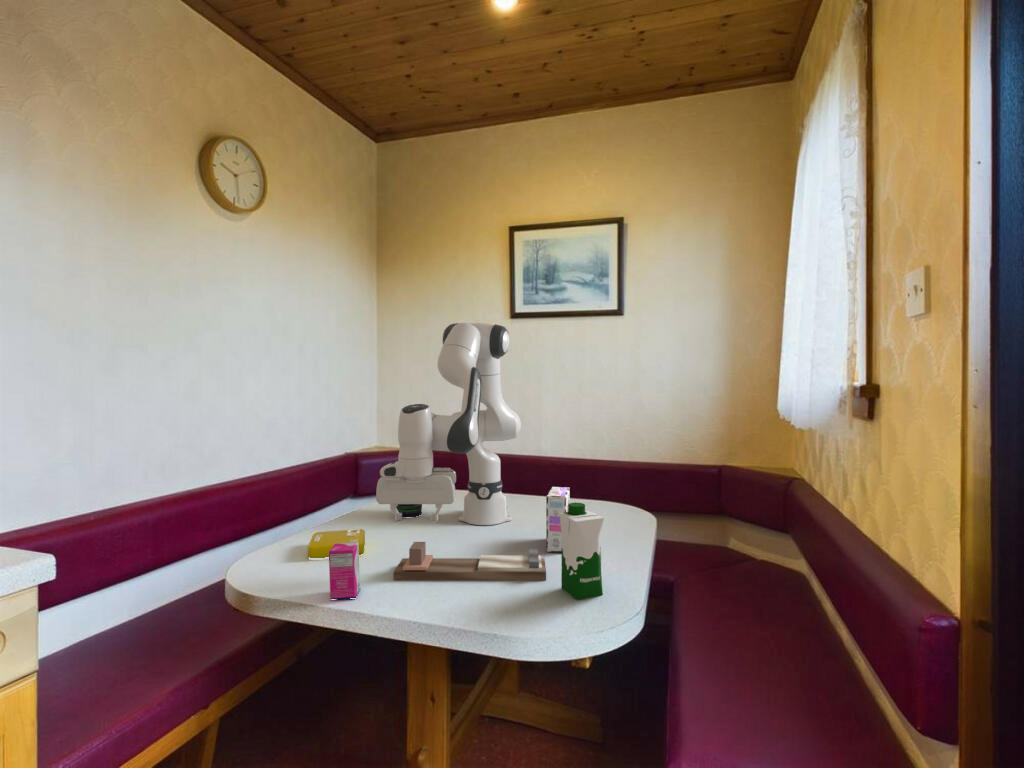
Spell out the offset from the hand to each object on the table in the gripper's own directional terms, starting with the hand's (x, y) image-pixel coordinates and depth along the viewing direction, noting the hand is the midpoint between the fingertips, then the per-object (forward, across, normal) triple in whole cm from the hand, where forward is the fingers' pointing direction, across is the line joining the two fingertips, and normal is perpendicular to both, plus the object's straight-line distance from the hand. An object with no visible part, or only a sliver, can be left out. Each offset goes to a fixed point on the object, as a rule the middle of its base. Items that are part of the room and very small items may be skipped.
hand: (416, 520), depth 135 cm
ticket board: (+13, -14, +1) cm, 20 cm away
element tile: (+14, +27, -17) cm, 35 cm away
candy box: (+14, -38, -21) cm, 46 cm away
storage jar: (+15, +15, -57) cm, 61 cm away
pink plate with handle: (+11, -1, +1) cm, 11 cm away
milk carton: (+13, -41, +13) cm, 45 cm away
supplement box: (+13, +14, +15) cm, 24 cm away
